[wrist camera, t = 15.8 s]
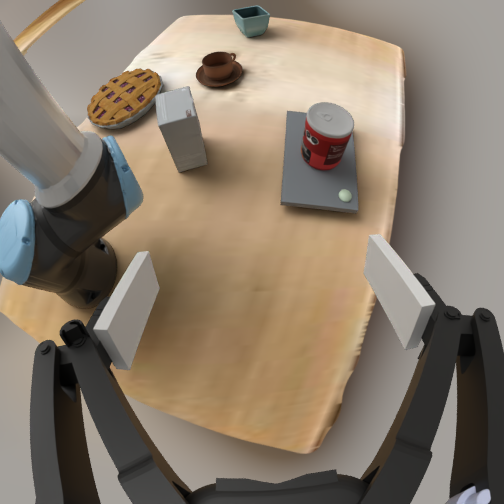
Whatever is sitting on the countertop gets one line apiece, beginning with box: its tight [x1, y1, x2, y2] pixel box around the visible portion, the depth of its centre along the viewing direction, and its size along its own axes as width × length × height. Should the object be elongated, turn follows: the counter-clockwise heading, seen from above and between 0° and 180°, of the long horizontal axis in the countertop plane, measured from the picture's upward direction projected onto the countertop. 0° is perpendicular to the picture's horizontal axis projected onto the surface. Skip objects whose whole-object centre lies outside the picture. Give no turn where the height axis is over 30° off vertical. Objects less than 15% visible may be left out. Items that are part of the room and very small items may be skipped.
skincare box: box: [155, 86, 208, 172], centre depth 48 cm, size 8×7×16 cm
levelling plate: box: [281, 111, 358, 214], centre depth 52 cm, size 14×22×3 cm, turn 174°
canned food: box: [301, 102, 354, 170], centre depth 45 cm, size 8×8×11 cm
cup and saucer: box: [196, 52, 242, 87], centre depth 59 cm, size 12×12×6 cm
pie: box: [87, 69, 163, 129], centre depth 59 cm, size 22×22×5 cm
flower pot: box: [232, 6, 270, 37], centre depth 64 cm, size 9×9×9 cm
